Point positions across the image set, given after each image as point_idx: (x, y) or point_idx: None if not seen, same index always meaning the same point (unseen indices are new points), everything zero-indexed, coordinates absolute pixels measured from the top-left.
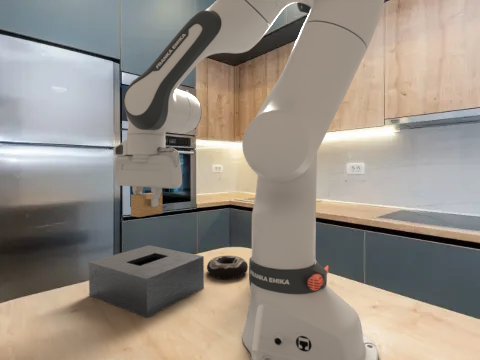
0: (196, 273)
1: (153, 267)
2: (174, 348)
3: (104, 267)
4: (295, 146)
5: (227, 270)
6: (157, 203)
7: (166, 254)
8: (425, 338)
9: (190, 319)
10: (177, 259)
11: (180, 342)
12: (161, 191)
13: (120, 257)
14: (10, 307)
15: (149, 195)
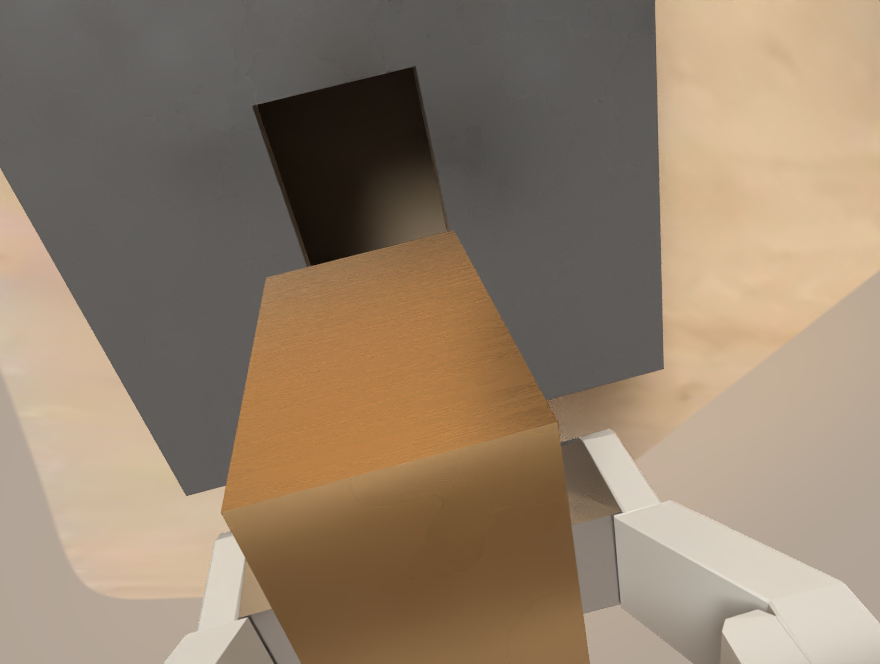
0: None
1: (552, 275)
2: (798, 302)
3: None
4: None
5: None
6: (625, 460)
7: (360, 54)
8: None
9: (734, 171)
10: (540, 67)
11: (795, 276)
12: (850, 602)
13: (203, 344)
14: (153, 587)
15: (585, 661)
